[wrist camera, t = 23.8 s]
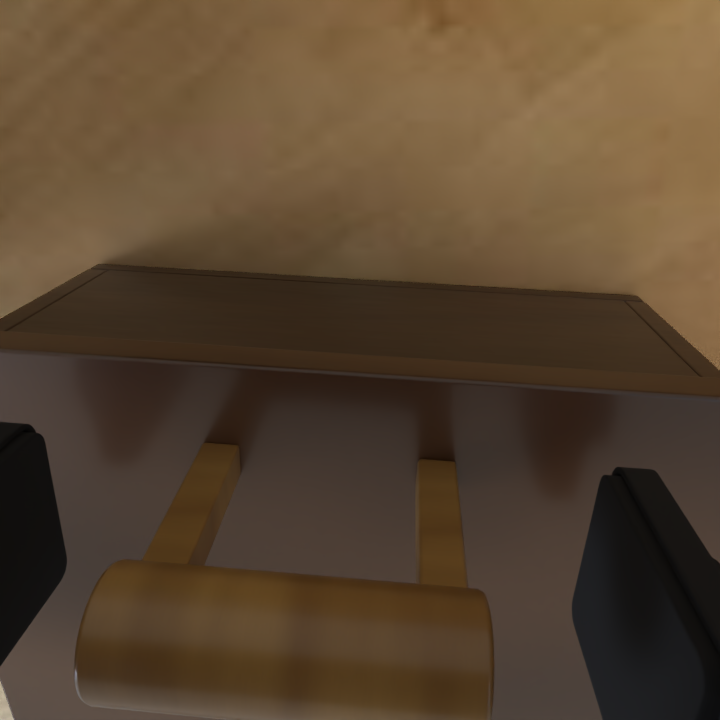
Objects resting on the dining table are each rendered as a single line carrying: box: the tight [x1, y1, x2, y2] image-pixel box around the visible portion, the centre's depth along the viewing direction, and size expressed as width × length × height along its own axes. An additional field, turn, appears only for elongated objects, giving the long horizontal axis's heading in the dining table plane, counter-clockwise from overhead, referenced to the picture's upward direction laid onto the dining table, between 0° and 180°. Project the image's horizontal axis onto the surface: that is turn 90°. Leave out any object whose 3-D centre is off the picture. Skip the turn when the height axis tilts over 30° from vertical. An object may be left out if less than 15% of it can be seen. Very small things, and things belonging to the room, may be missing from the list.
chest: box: [0, 264, 720, 378], centre depth 18 cm, size 13×16×7 cm
